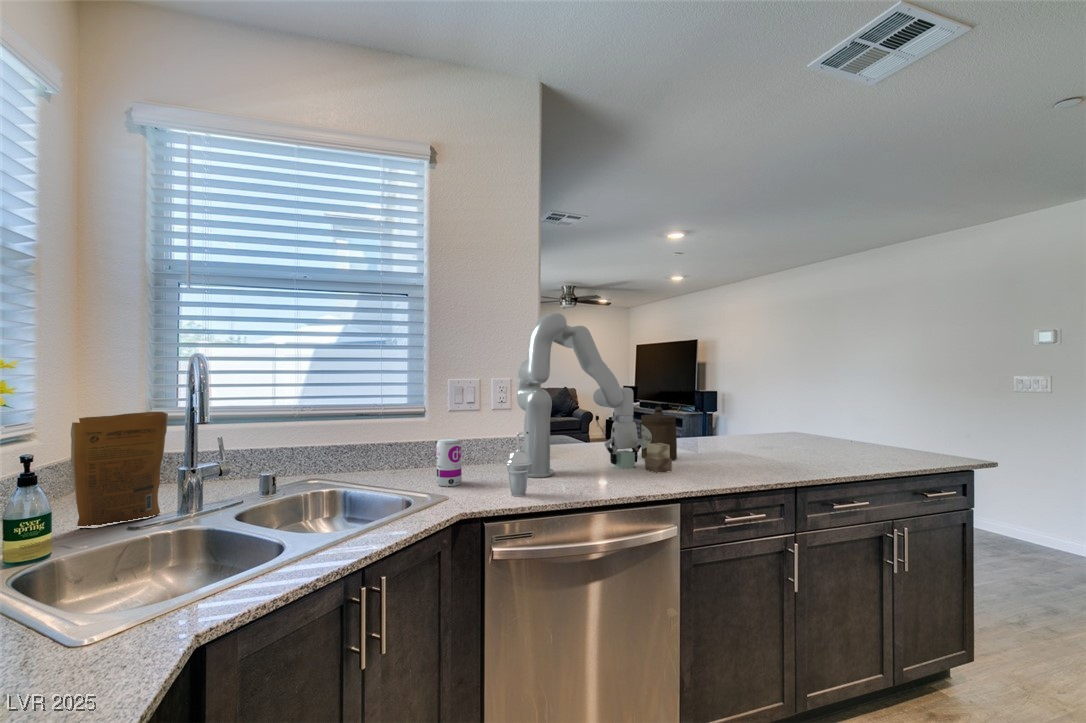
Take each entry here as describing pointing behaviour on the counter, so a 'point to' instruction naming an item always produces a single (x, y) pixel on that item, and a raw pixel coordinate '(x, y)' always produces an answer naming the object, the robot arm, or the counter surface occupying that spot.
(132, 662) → the counter surface
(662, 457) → the oak upper block
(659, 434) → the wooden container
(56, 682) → the counter surface
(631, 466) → the sage cube
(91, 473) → the pancake mix bag
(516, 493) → the cup with straw
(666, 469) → the walnut base block
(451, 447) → the supplement can
